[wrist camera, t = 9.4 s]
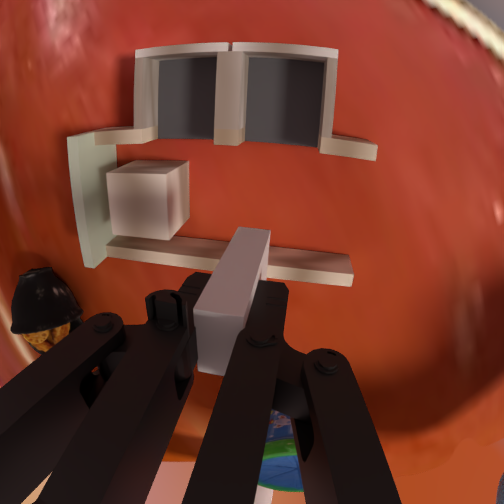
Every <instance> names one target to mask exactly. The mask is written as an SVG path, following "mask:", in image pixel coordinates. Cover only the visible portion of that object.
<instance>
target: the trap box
mask: <svg viewBox="0 0 504 504" xmlns="http://www.w3.org/2000/svg"><path fill="white" fill-rule="evenodd" d="M337 63H338V49H331V48H324V47H315V46H305V45H294V44H280V43H256V42H233V46H232V45H230V44H229V43H228V42H221V43H197V44H183V45H172V46H162V47H154V48H146V49H139V50H136V51H135V73H134V126H125V127H110V128H102V129H98V130H94V131H89V132H85V133H81V134H77V135H74V136H70V137H67V146H68V160H69V171H70V180H71V189H72V197H73V204H74V211H75V218H76V224H77V230H78V236H79V241H80V246H81V251H82V256H83V261H84V266H85V267H89V268H96V267H97V266H98V265H99V264H100V263H101V262H102V261H103V260H104V259H105V258H106V257H114V258H121V259H128V260H135V261H142V262H149V263H157V264H164V265H171V266H179V267H186V268H194V269H202V270H210V271H214V270H215V268H216V266H217V265H218V263H219V261H220V259H221V257H222V256H223V254H224V252H225V250H226V248H227V247H228V245H229V243H230V242H226V241H217V240H208V239H198V238H189V237H179V236H173V237H172V238H171V239H170V240H161V239H151V238H142V237H133V236H123V235H114V234H113V233H112V225H111V217H110V208H109V199H108V188H107V177H106V173H108V172H110V171H112V170H114V169H117V156H116V144H142V143H146V142H149V141H152V140H155V139H214V145H234V146H238V145H239V144H241V143H242V142H244V141H255V142H268V143H280V144H291V145H300V146H310V147H318V150H319V152H320V153H323V154H331V155H339V156H346V157H353V158H359V159H366V160H372V161H376V155H377V147H378V145H376V144H374V143H373V142H371V141H369V140H366V139H360V138H353V137H347V136H340V135H333V134H332V127H333V116H334V105H335V92H336V79H337ZM353 277H354V273H353V269H352V265H351V261H350V257H349V255H343V254H334V253H326V252H317V251H308V250H299V249H290V248H281V247H272V246H269V255H268V266H267V278H276V279H284V280H293V281H302V282H311V283H321V284H330V285H340V286H349V287H351V285H352V281H353Z"/></svg>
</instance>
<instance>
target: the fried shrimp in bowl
mask: <svg viewBox="0 0 504 504" xmlns="http://www.w3.org/2000/svg"><path fill="white" fill-rule="evenodd" d="M11 311H12V322H13V323H12V326H11V332H12V333H14V334H21V335H22V336H23V337H24V338H25V339H26V340H27V341H28V343H29V344H30V346H31V347H32V348H33V349H34V350H35V351H37V352H38V353H40V354H41V355H42V354H44V353H45V352H46V351H48V350H49V349H50V348H51V347H53V346H54V345H55V344H57V343H58V342H59V341H60V340H62V339H63V338H64V337H66V336H67V335H68V334H69V333H71V332H72V331H73V330H75V329H76V328H77V327H79V326H80V325H81V324H83V322H82V320H81V319H80V316H81V315H82V314H83V310H82V309H81V308H80V307H79V306H78V305H77V303H76V300H75V298H74V296H73V294H72V292H71V291H70V289H69V288H68V287H67V285H66V284H65V283H63V282H62V281H61V280H59V279H58V278H57V277H56V276H55V275H54V274H53V271H52V267H45V268H38V269H31V270H29V271H27V272H26V273H24V274H23V275H19V282H18V285H17V287H16V290H15V293H14V296H13V299H12V306H11Z"/></svg>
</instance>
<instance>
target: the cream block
mask: <svg viewBox="0 0 504 504" xmlns="http://www.w3.org/2000/svg"><path fill="white" fill-rule="evenodd" d="M106 177H107V188H108V199H109V208H110V217H111V225H112V233H113V234H114V235H123V236H133V237H142V238H151V239H161V240H170V239H171V238H172V237H173V235H174V234H175V233H176V232H177V231H178V230H179V229H180V228H181V226H182V225H183V224H184V223H185V222H186V221H187V220H188V219H189V217H190V208H189V161H172V160H135V161H133V162H130V163H128V164H126V165H123V166H121V167H119V168H117V169H114V170H112V171H110V172H108V173H106Z"/></svg>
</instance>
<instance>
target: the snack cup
mask: <svg viewBox="0 0 504 504" xmlns="http://www.w3.org/2000/svg"><path fill="white" fill-rule="evenodd" d="M258 485H259V486H262V487H265V488H268V489H273V490H279V491H287V492H304V490H303V485H302V479H301V474H300V468H299V463H298V457H297V452H296V447H295V441H294V436H293V431H292V425H291V420H290V416H287V415H285V414H283V413H280V412H278V411H276V410H273V409H272V410H271V415H270V421H269V427H268V433H267V438H266V444H265V449H264V455H263V460H262V465H261V470H260V475H259V481H258Z"/></svg>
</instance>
